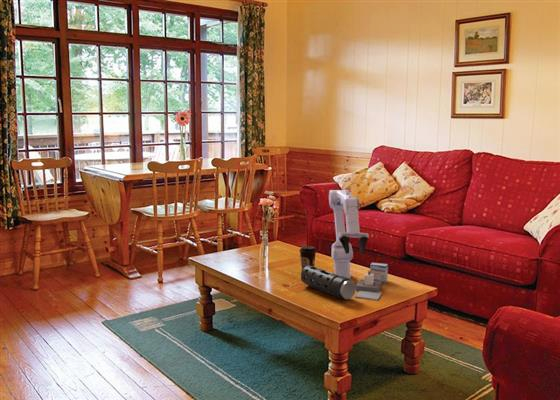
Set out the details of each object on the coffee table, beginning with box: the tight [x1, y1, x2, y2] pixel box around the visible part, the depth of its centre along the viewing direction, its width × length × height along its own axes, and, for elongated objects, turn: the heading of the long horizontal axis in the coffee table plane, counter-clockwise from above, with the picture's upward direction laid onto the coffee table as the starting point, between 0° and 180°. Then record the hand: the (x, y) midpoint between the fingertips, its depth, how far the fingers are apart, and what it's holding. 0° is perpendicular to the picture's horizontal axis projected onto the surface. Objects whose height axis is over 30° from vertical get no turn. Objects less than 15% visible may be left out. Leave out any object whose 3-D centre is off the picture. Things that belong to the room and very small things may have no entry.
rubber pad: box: [354, 290, 383, 301], centre depth 244 cm, size 10×10×1 cm
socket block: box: [355, 279, 383, 292], centre depth 253 cm, size 10×10×2 cm
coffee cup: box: [299, 245, 317, 272], centre depth 279 cm, size 9×8×13 cm
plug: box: [363, 270, 374, 286], centre depth 253 cm, size 4×4×8 cm
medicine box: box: [369, 262, 389, 284], centre depth 264 cm, size 8×4×9 cm, turn 70°
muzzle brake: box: [300, 265, 356, 301], centre depth 246 cm, size 10×28×10 cm, turn 36°
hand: (354, 253), depth 240 cm, fingers open, 7 cm apart
